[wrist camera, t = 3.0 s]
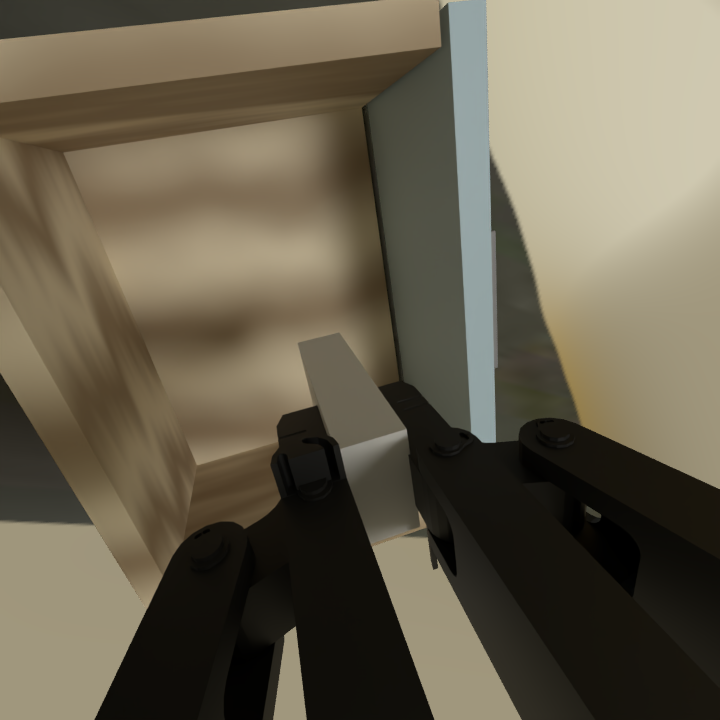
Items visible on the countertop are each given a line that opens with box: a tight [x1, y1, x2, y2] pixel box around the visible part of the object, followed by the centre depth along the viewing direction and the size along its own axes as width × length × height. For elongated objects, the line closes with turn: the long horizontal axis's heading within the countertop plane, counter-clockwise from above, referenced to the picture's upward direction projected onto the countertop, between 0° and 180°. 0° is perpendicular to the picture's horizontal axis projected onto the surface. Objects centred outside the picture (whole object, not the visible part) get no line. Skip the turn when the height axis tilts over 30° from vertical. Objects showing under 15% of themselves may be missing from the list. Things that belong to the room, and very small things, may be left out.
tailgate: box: [367, 0, 498, 443], centre depth 20 cm, size 20×2×9 cm, turn 11°
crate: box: [0, 0, 441, 609], centre depth 19 cm, size 20×15×11 cm
